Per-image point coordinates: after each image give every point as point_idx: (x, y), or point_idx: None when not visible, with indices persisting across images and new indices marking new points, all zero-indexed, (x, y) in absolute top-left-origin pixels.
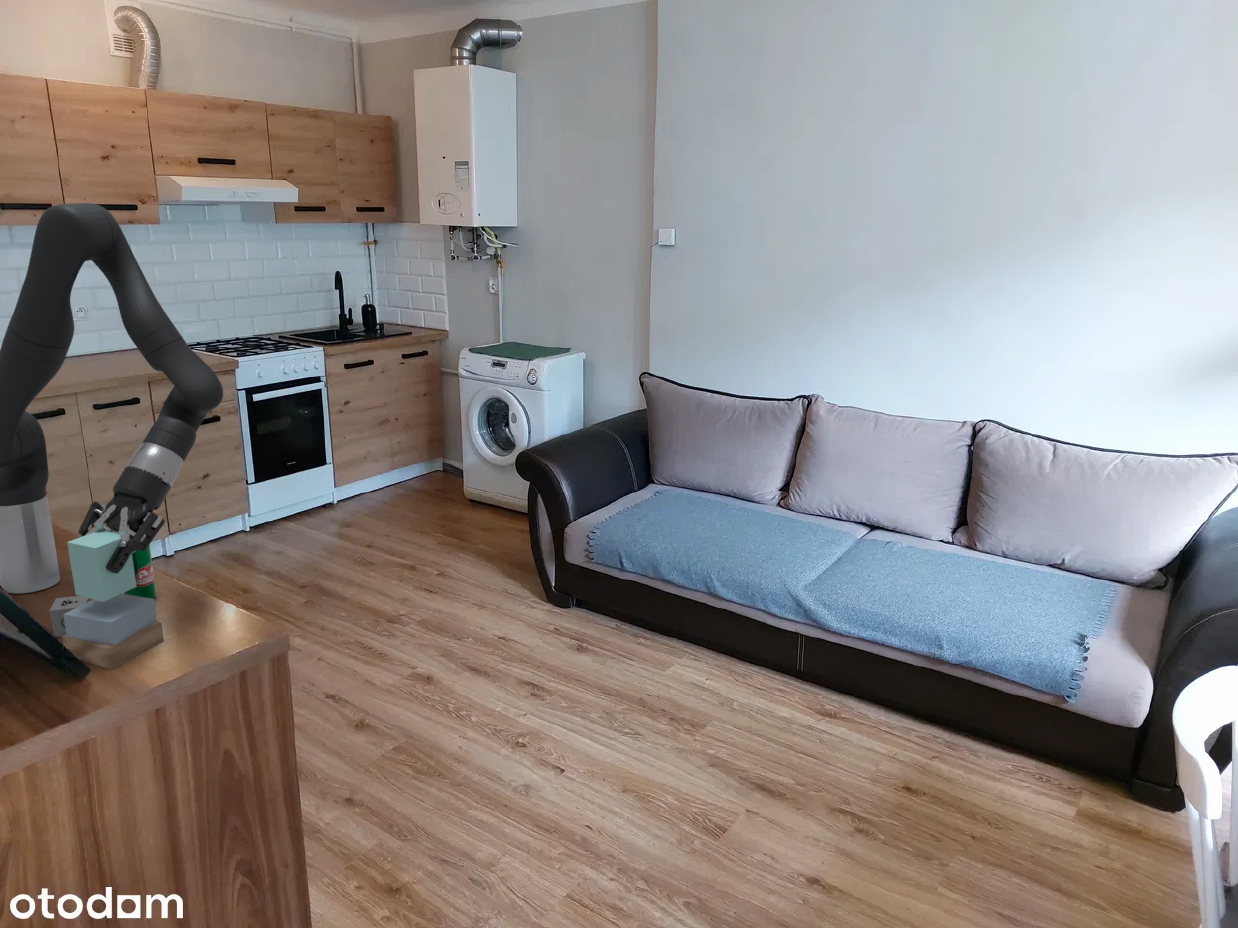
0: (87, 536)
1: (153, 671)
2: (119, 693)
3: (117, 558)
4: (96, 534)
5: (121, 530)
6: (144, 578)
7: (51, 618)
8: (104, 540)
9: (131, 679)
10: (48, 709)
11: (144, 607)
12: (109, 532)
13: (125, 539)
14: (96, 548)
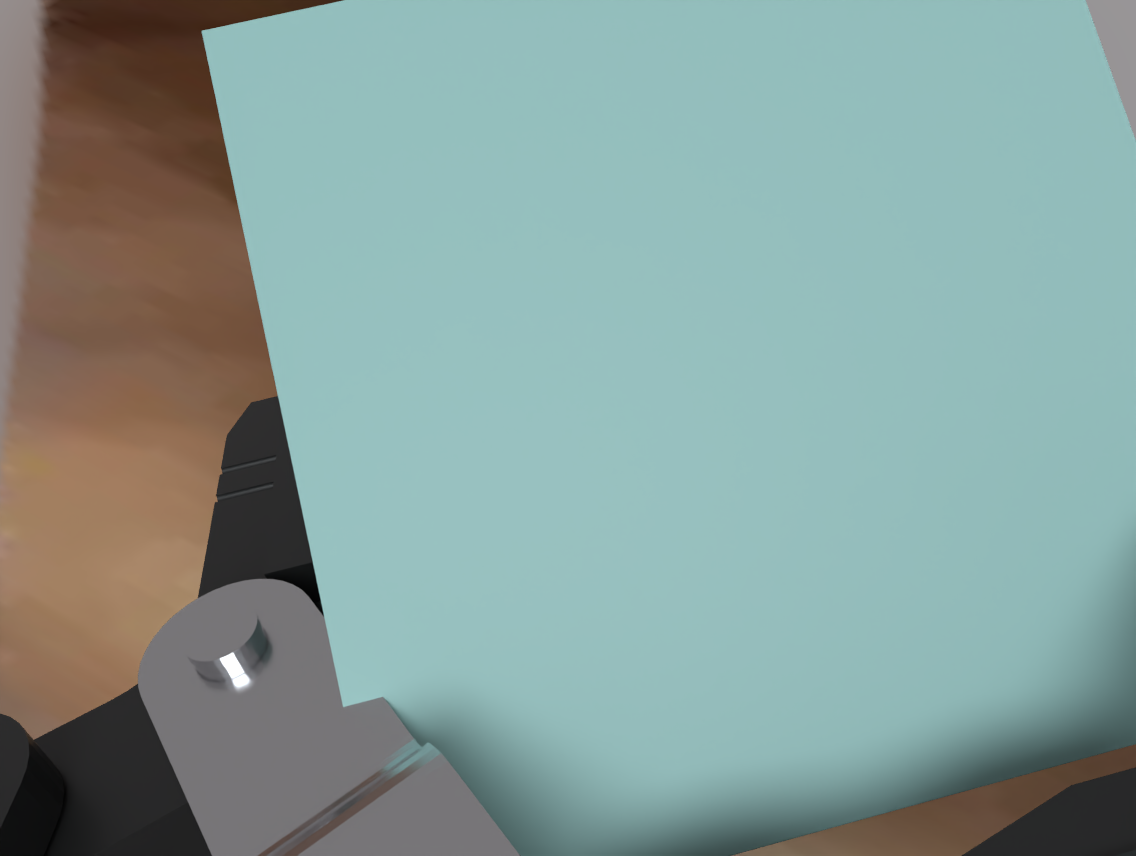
0: (1073, 259)
1: (159, 513)
2: (91, 286)
3: (262, 480)
4: (1071, 455)
5: (363, 810)
6: None
7: None
8: (521, 376)
9: (177, 395)
10: (236, 16)
11: None
12: (975, 717)
13: (207, 737)
14: (211, 58)
